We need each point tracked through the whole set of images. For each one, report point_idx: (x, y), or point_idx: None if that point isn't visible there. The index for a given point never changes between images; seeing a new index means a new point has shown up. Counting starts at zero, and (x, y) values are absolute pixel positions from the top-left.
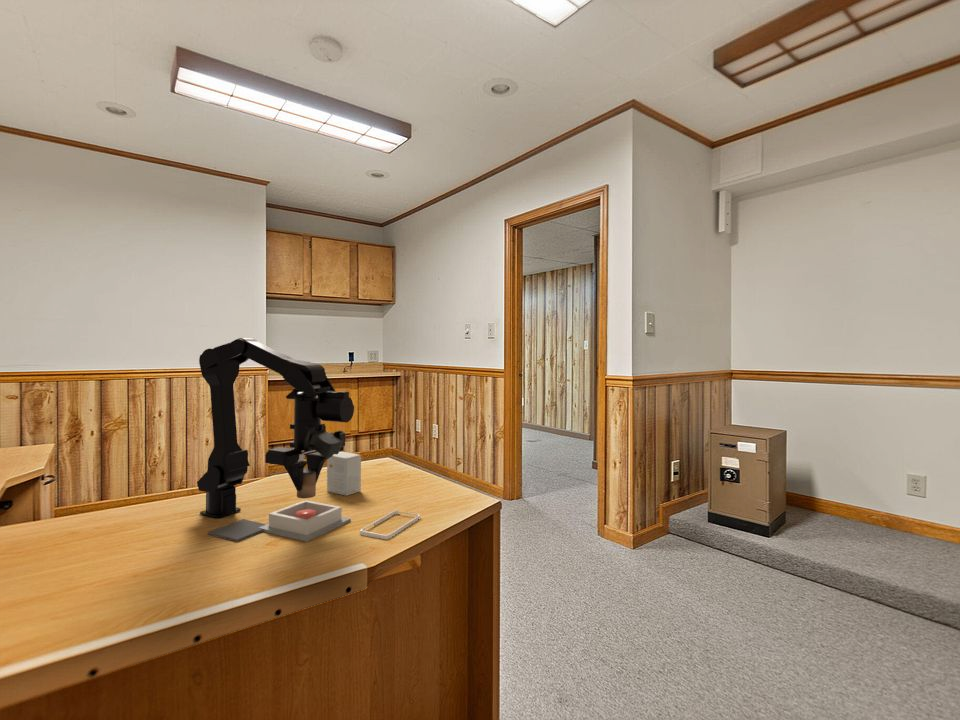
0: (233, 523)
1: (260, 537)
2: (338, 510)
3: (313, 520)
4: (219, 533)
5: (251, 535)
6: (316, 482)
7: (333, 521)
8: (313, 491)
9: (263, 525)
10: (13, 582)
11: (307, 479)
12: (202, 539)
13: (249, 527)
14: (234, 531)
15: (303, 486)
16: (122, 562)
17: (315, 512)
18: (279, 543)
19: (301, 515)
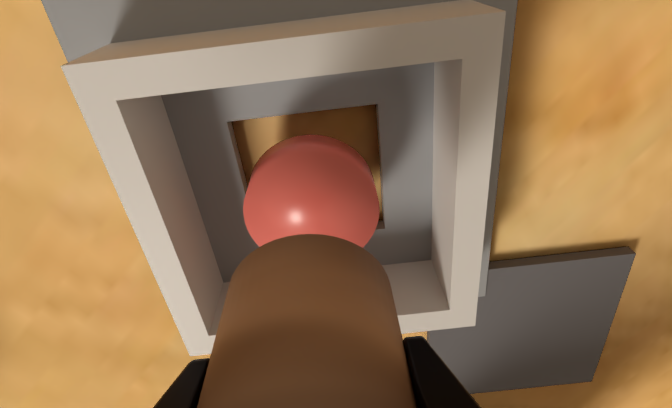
0: (483, 387)
1: (547, 216)
2: (111, 56)
3: (422, 19)
4: (593, 346)
5: (552, 256)
6: (173, 385)
7: (194, 33)
8: (290, 271)
9: None
10: None
11: None
12: (634, 350)
13: (493, 322)
14: (555, 327)
15: (400, 361)
16: None
17: (271, 166)
18: (588, 73)
19: (372, 191)
